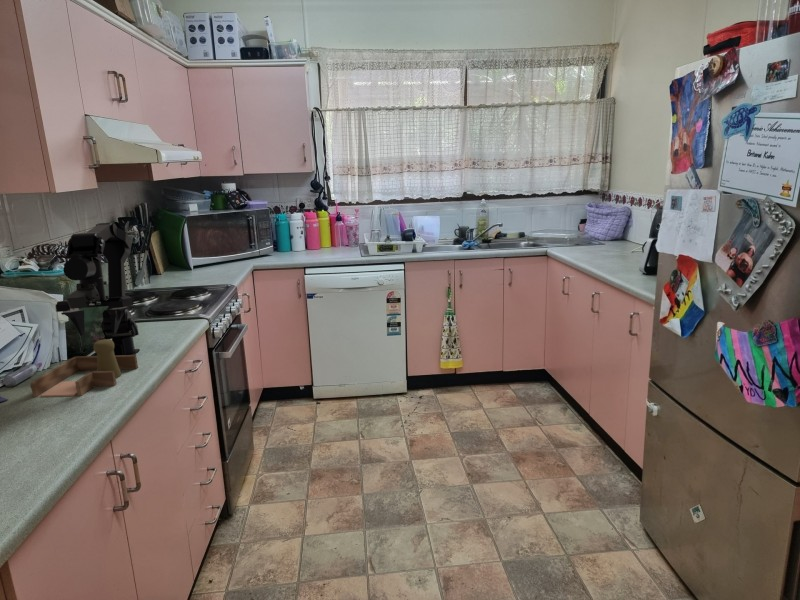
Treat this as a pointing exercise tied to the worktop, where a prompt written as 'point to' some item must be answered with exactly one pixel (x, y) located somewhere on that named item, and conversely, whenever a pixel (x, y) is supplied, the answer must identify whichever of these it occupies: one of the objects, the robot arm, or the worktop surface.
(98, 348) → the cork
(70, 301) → the robot arm
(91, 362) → the bent channel
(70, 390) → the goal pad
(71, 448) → the worktop surface
